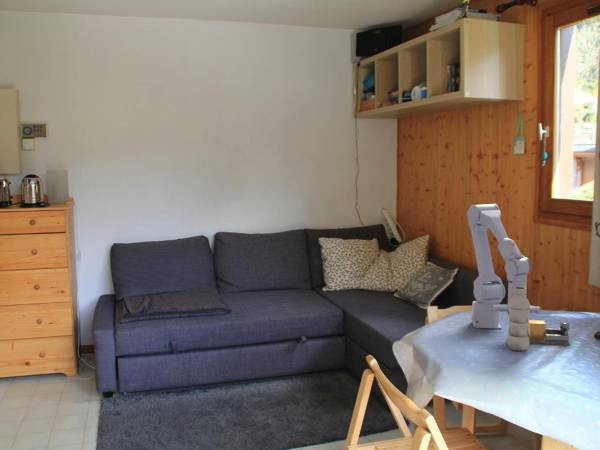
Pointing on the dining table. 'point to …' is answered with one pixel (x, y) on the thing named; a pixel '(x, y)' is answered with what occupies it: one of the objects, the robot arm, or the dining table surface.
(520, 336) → the plastic bottle
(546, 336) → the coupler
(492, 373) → the dining table surface
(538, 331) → the block
